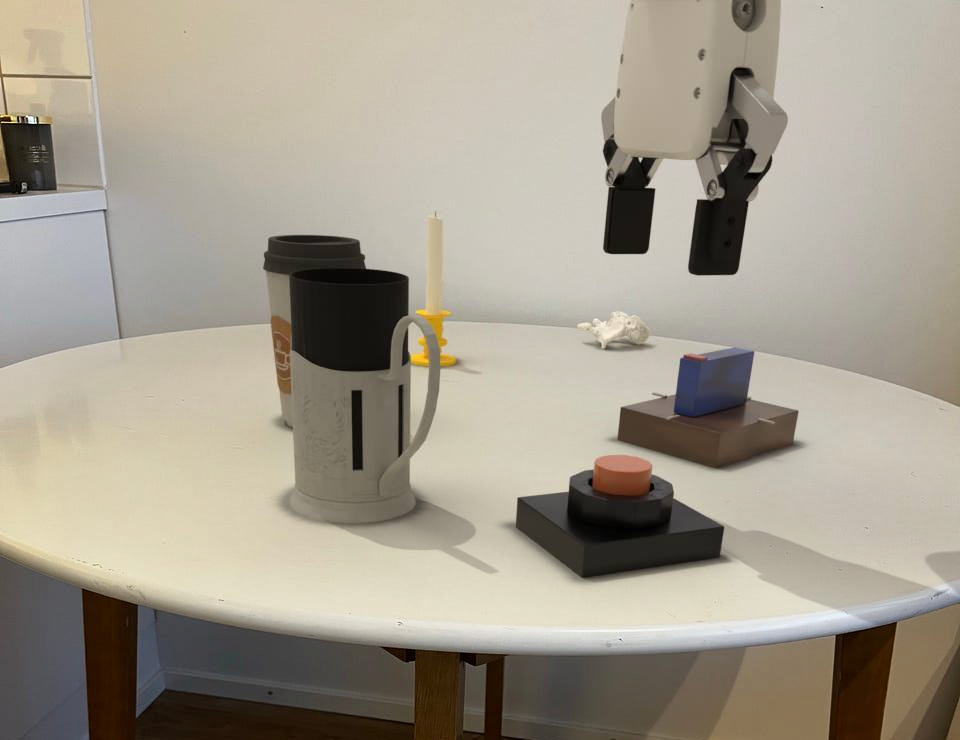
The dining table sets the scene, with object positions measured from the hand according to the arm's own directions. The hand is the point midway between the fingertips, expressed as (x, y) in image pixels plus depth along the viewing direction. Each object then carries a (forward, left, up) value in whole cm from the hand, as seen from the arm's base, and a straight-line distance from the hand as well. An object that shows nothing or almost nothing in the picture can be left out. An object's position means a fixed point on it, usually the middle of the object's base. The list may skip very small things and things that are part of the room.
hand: (666, 263), depth 63 cm
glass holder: (+17, -6, -17) cm, 25 cm away
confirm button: (+4, +4, -13) cm, 14 cm away
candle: (-5, -50, -17) cm, 53 cm away
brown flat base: (-16, -14, -17) cm, 27 cm away
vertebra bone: (-31, -54, -17) cm, 64 cm away
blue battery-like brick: (-16, -14, -14) cm, 25 cm away
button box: (+4, +4, -17) cm, 18 cm away
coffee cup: (+14, -29, -17) cm, 36 cm away
